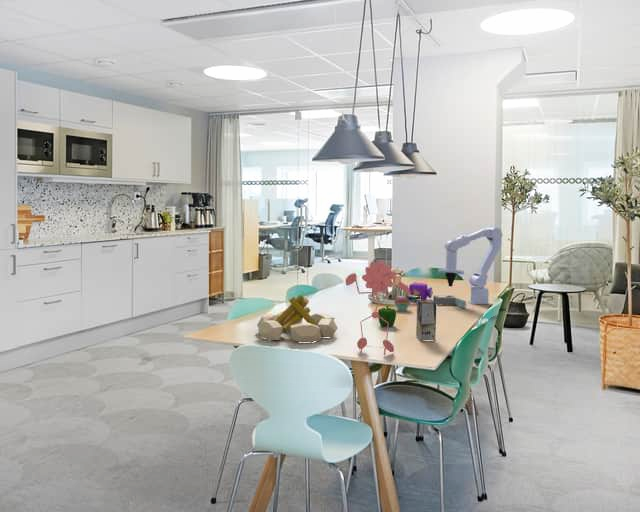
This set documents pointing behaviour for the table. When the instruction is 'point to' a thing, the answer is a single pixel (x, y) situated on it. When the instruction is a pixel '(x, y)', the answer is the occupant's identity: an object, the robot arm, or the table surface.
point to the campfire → (297, 323)
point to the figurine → (377, 280)
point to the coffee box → (426, 320)
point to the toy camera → (420, 290)
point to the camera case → (445, 300)
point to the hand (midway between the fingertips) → (450, 286)
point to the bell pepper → (387, 316)
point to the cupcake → (402, 303)
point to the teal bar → (460, 303)
